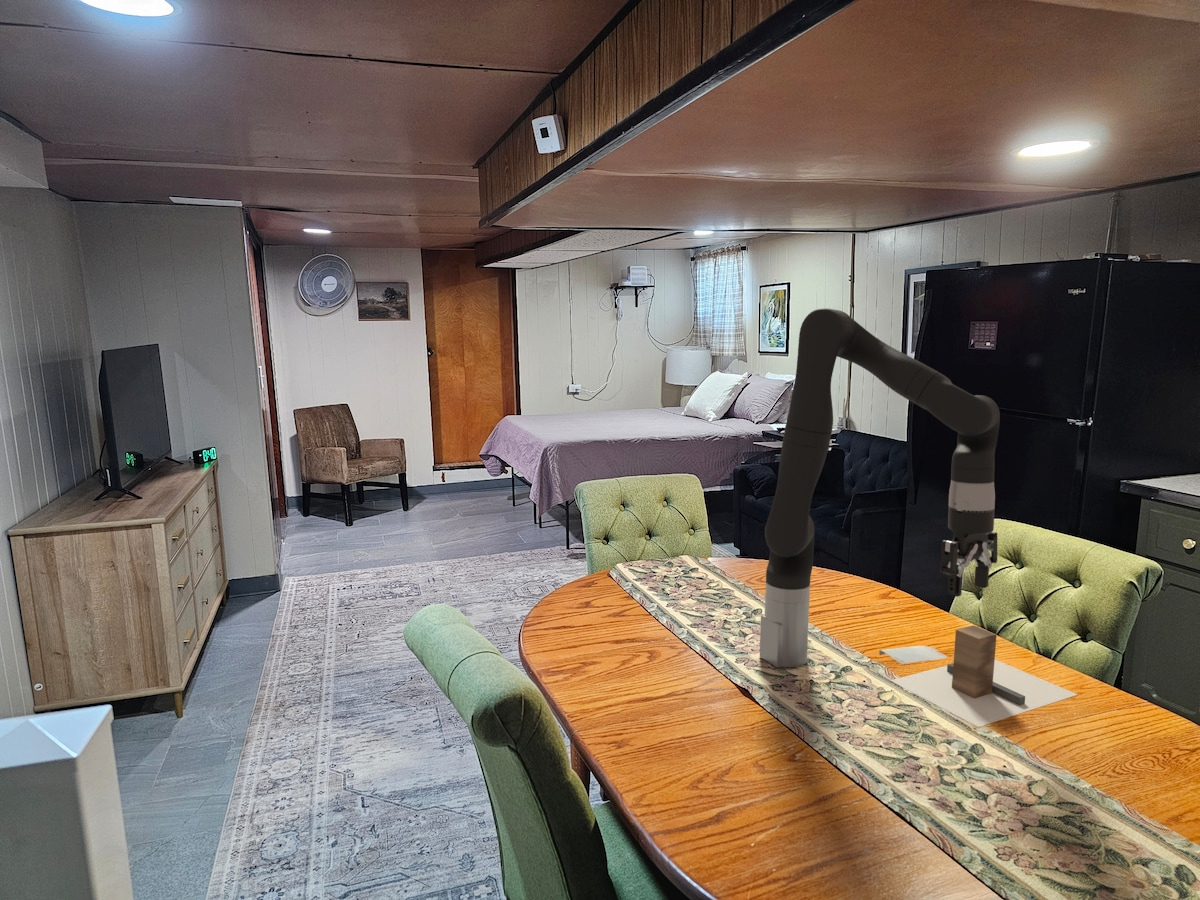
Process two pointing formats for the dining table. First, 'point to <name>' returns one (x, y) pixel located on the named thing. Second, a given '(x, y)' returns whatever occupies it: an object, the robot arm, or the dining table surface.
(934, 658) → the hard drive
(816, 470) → the robot arm
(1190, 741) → the dining table surface
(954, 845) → the dining table surface
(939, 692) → the grey board
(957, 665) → the walnut block
